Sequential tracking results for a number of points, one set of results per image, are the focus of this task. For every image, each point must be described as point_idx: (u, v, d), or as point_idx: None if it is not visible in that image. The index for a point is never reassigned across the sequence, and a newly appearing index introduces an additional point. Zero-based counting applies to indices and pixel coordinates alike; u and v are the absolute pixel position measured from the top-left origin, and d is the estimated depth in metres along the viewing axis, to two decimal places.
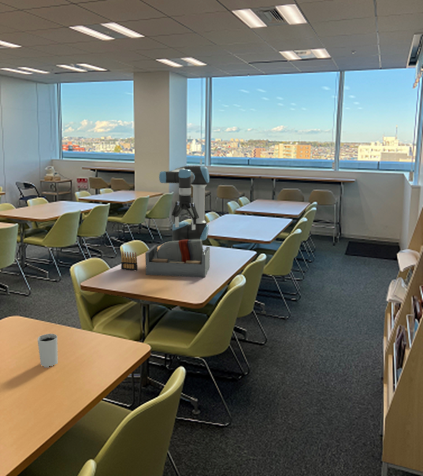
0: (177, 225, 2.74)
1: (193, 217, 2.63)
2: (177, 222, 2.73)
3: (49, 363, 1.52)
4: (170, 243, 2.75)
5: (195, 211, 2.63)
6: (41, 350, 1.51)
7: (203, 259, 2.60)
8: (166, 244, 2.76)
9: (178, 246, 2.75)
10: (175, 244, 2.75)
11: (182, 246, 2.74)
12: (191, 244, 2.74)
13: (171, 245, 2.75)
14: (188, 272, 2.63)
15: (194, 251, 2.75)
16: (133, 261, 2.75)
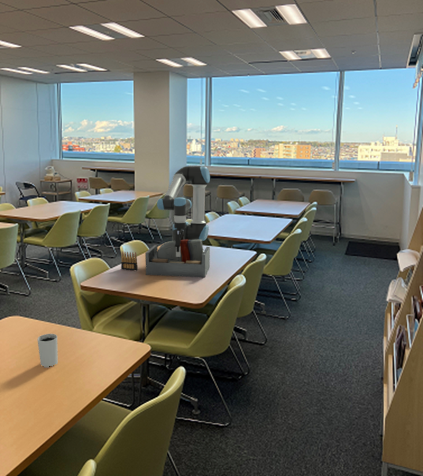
0: None
1: None
2: None
3: (49, 363, 1.52)
4: (170, 243, 2.75)
5: (177, 239, 2.68)
6: (41, 350, 1.51)
7: (203, 259, 2.60)
8: (166, 244, 2.76)
9: None
10: None
11: (182, 246, 2.74)
12: (191, 244, 2.74)
13: (171, 245, 2.75)
14: (188, 272, 2.63)
15: (194, 251, 2.75)
16: (133, 261, 2.75)
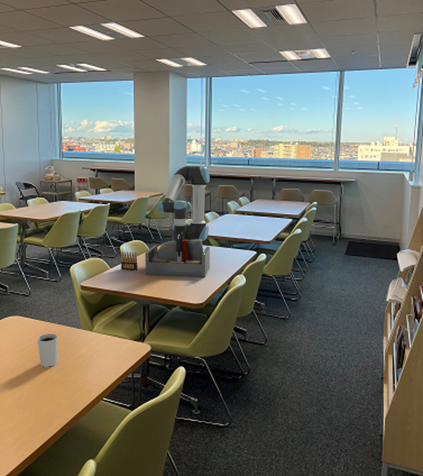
0: None
1: (177, 249, 2.73)
2: None
3: (49, 363, 1.52)
4: (170, 243, 2.75)
5: (178, 244, 2.71)
6: (41, 350, 1.51)
7: (203, 259, 2.60)
8: (166, 244, 2.76)
9: None
10: (175, 244, 2.75)
11: (182, 246, 2.74)
12: (191, 244, 2.74)
13: (171, 245, 2.75)
14: (188, 272, 2.63)
15: (194, 251, 2.75)
16: (133, 261, 2.75)
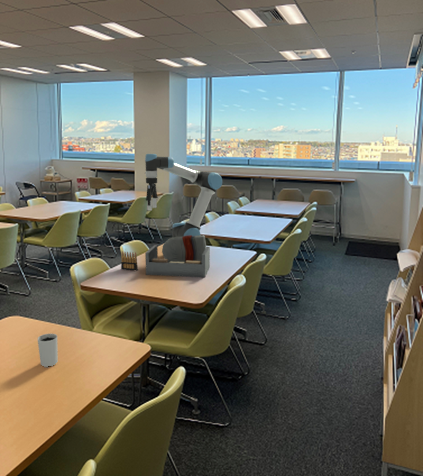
0: (154, 206, 2.96)
1: None
2: (154, 203, 2.96)
3: (49, 363, 1.52)
4: (174, 239, 2.89)
5: (148, 193, 2.80)
6: (41, 350, 1.51)
7: (203, 259, 2.60)
8: (171, 240, 2.89)
9: (182, 241, 2.89)
10: (179, 240, 2.89)
11: (186, 241, 2.88)
12: (194, 240, 2.88)
13: (176, 241, 2.89)
14: (188, 272, 2.63)
15: (197, 246, 2.88)
16: (133, 261, 2.75)
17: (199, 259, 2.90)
